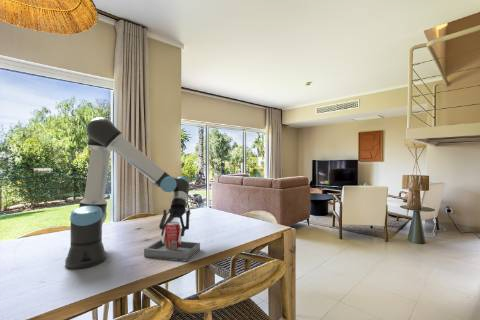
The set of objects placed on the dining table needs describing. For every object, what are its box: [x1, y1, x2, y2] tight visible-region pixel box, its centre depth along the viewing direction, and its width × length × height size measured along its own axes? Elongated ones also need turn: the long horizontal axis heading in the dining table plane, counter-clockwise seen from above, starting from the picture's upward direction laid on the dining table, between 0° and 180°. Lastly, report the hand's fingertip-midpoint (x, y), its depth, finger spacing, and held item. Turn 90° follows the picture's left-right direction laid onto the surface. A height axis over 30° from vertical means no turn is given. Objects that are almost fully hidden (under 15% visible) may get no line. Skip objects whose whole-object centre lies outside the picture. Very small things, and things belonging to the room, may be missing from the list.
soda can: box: [165, 221, 181, 250], centre depth 116 cm, size 7×7×12 cm
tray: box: [143, 238, 201, 262], centre depth 116 cm, size 22×14×4 cm, turn 77°
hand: (171, 242), depth 112 cm, fingers closed on soda can, 7 cm apart
